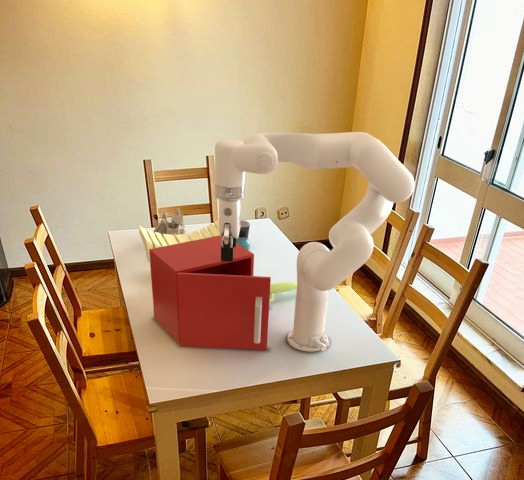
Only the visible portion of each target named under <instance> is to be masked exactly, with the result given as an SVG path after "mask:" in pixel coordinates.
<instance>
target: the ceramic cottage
mask: <svg viewBox="0 0 524 480" xmlns="http://www.w3.org/2000/svg"><path fill="white" fill-rule="evenodd" d="M161 215H162V216H161V217H162V219H161V220H160V222H159V223H158V224H157V226H155V227H154V230H153V233H154V234H155V232H158V233H160V234H161V235H162V237H163V234H170V235H173V236H174V237H175V235H179V234H186V235H187V231H186V230H185V228H186V227H185V221H184V215H183V214H181V211H180V208H179V207H178V208H177V209H176V210H175V211H174V213H172V214H171V218H170V219H171V221H170V222H169V221H168V216H167V212H166V211H163V212H162V214H161ZM175 239H176V237H175ZM176 240H177V239H176ZM177 242H178V241H177ZM178 244H179V243H178Z"/></svg>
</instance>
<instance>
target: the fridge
mask: <svg viewBox="0 0 524 480" xmlns="http://www.w3.org/2000/svg"><path fill="white" fill-rule="evenodd" d="M221 246H222V238H221V237H220V235H219V236H214V237H209V238H203V239H199V240H194V241H189V242H184V243H179V244H174V245H169V246H163V247H158V248H153V249H149V253H150V262H149V264H150V279H151V292H152V305H153V307H152V308H153V319H154V320H155V321H156V322H157V323H158V324H159V325H160V326H161V327H162V328H163V330H165V332H167V333H168V334H169V335H170V336H171V337H172V338H173V339H174V341H176V343H177V344H178V345H180V331H179V309H178V287H177V273H199V274H220V275H241V276H254V269H255V268H254V266H255V264H254V263H255V254H254V253H253V252H252V251H251V250H250V249H249V250H247V249H245V248H244V247H242V246H241V245H239V244H238V243H236V247H233V261H232V262H228V261H221Z"/></svg>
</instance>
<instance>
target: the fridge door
mask: <svg viewBox="0 0 524 480" xmlns="http://www.w3.org/2000/svg"><path fill="white" fill-rule="evenodd" d="M271 278H272V277H271V276H259V275H253V276H241V275H220V274H199V273H177V287H178V309H179V331H180V344H179V345H180V347H192V348H193V347H195V348H215V349H234V350H235V349H236V350H240V349H241V350H256V351H267V350H268V335H269V333H268V332H269V318H270V317H269V316H270V302H269V300H270V298H271V294H270V284H271V283H272V281H271Z"/></svg>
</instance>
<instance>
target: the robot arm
mask: <svg viewBox="0 0 524 480" xmlns="http://www.w3.org/2000/svg"><path fill="white" fill-rule="evenodd" d="M278 163H289V164H294V165H298V166H301V167H303V168H307V169H310V170H315V171H316V170H317V171H318V170H329V169H346V168H355V170H357V171H358V172H359V173H360V174H361V175H362V176H363V177H364V178H365V179H366V180H367V181H368V182H367V183H368V184H367V189H366V192H365V194H364V196H363V198H362V200H361V201H360V202H359V203H358V204H357V205H356V206H355V207H353V208H352V209H351V210H350V211H349V212H347V213H346V214H345V215H344V216H343V217H342V218H341V219H339V220H338V221H337V222H336V223H335V224H334V225H333V226H332V227H331V228H330V230H329V231H328V240H329V243H330V245H331V246H332V249H329V248H328V247H327V246H326V245H325V244H323V243H321V242H318V241H310V242H308V243H306V244H304V245H303V246H302V247H301V248H300V249H299V252H298V254H297V257H296V282H297V288H296V293H295V302H294V313H293V324H292V325H293V326H292V330H290V331H289V332H288V334H287V337H286V338H287V339H286V340H287V343H288V344H289V345H290V346H291V347H292V348H294V349H296V350H299V351H301V352H306V353H307V352H309V353H310V352H311V353H312V352H319V351H322V352H325V351H326V350H327V348H328V347H329V346H330V344H331V342H330V341H329V337H328V336H327V332H325V328H326V327H325V326H326V320H327V313H328V312H327V311H328V304H329V303H328V302H329V296H330V290H333V289H335V288H337V287H338V286H339V285H341V284H342V283H343V282H344V281H346V279H348V278H349V277H350V276H351V275H353V274H354V273H355V272H356V271H357V270H359V269H360V268H361V267H362V266H363V265H365V264H366V263H367V261H368V260H369V259H370V258H371V256H372V254H373V251H374V247H375V246H374V245H375V244H374V240H373V237H372V236H371V235H372V234H373V233H374V232H375V231H376V230H377V229H378V228H379V227H380V226H382V225H383V224H384V223H385V221H386V220H387V219H388V217H389V216H390V214H391V212H392V208H393V206H394V204H399V203H400V204H401V203H403V202H405V201H407V200H408V199H410V197H411V196H412V194H413V193H414V190H415V187H416V186H415V179H414V176H413V175H412V173H411V172H410V171H409V170H408V168H406V166H405V165H404V164H403V163H401V161H400V160H399V159H398V158H397V157H396V156H395V155H394V154H393V153H392V152H391V151H390V150H389V149H388V147H387V146H386V145H385V144H384V143H383V142H382V141H381V140H380V139H378V138H376V137H375V136H373V135H371V134H370V133H368V132H364V131H350V132H349V131H347V132H333V133H332V132H331V133H329V132H328V133H308V132H307V133H306V132H305V133H302V132H300V133H299V132H286V131H285V132H280V131H279V132H278V131H277V132H262V133H254V134H251V135H249V136H247V137H246V138H245V140H243V141H242V140H240V139H236V138H222V139H219V140H217V141H216V143H215V145H214V198H215V199H217V200H218V219H219V230H220V237H221V238H222V246H221V261H228V262H232V261H233V247H236V239H237V238H238V237H239V232H240V220H241V200H243V199H244V198H245V185H246V184H245V183H246V182H245V181H246V173H251V174H256V175H267V174H270V173H272V172H273V171H274V170H275V169H276V168H277V166H278Z"/></svg>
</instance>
